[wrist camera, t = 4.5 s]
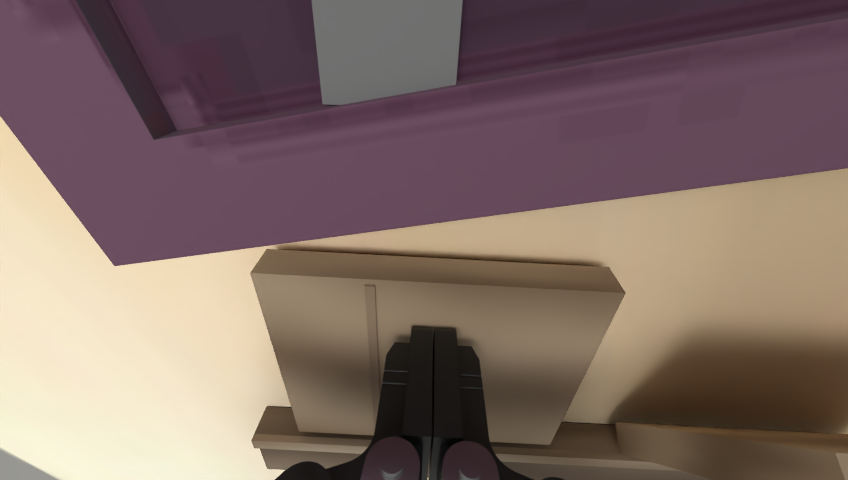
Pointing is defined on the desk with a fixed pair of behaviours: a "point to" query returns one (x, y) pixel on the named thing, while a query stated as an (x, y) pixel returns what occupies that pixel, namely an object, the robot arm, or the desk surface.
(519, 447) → the strip
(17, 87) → the purple gear tray
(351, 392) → the plank
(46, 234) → the desk surface
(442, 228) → the desk surface
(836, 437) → the plank
